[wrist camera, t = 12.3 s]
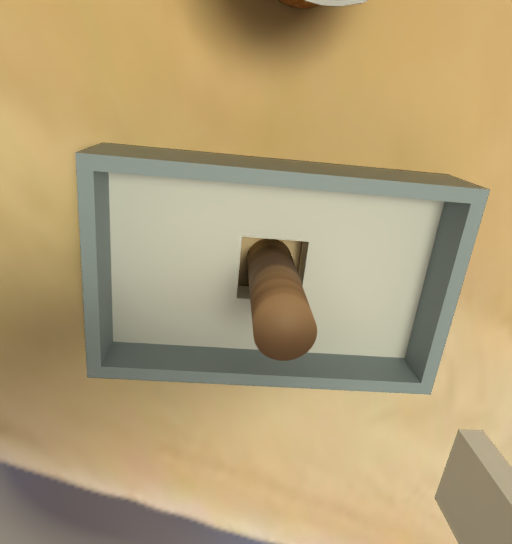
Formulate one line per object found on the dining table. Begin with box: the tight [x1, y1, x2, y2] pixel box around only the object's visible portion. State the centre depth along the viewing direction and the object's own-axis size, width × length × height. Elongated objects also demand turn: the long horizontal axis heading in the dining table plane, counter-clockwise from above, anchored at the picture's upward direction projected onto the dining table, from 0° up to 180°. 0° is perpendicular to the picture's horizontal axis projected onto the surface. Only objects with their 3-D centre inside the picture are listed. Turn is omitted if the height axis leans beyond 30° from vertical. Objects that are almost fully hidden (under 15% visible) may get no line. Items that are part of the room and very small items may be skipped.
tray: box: [76, 143, 490, 395], centre depth 33 cm, size 26×16×6 cm, turn 84°
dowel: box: [247, 239, 317, 361], centre depth 30 cm, size 4×4×12 cm
